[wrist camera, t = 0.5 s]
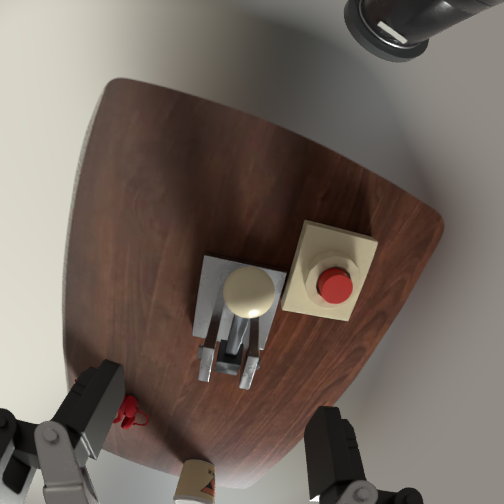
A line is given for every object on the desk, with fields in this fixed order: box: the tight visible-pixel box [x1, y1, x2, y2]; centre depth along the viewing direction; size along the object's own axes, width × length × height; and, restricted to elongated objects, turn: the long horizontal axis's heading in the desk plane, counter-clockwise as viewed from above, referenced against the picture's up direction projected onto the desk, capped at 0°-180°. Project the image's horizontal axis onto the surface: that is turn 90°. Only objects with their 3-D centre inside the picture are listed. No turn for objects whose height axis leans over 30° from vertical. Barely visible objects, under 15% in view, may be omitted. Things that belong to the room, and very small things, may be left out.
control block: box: [281, 220, 378, 321], centre depth 33 cm, size 11×9×4 cm
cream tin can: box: [173, 459, 216, 504], centre depth 47 cm, size 9×9×12 cm
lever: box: [215, 266, 275, 375], centre depth 22 cm, size 14×3×3 cm, turn 168°
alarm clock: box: [75, 379, 148, 429], centre depth 43 cm, size 10×6×15 cm
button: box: [318, 268, 353, 304], centre depth 30 cm, size 4×4×2 cm
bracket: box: [192, 252, 287, 389], centre depth 31 cm, size 12×10×13 cm
